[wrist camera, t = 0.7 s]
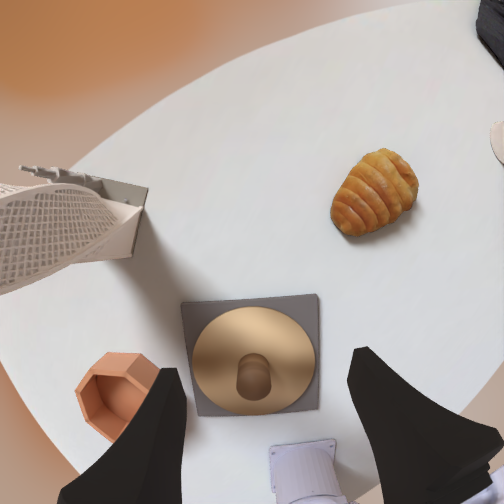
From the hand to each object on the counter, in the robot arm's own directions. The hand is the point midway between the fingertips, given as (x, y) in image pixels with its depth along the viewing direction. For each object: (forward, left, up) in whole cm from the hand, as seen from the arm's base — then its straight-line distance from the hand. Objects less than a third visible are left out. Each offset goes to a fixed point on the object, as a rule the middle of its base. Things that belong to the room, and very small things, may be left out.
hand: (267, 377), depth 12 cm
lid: (-7, +1, -17) cm, 18 cm away
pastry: (+9, -12, -18) cm, 23 cm away
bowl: (-11, +15, -18) cm, 26 cm away
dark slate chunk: (+38, -45, -18) cm, 62 cm away
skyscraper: (+8, +14, -18) cm, 24 cm away
